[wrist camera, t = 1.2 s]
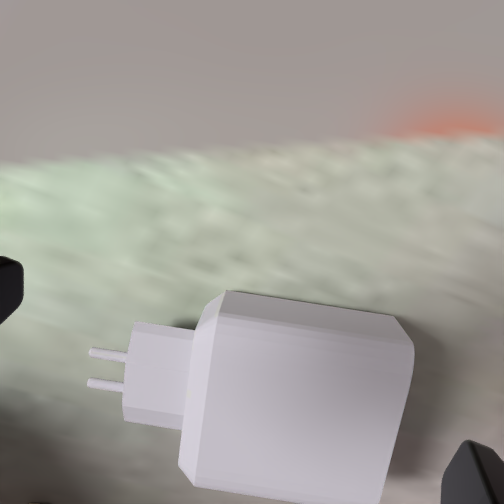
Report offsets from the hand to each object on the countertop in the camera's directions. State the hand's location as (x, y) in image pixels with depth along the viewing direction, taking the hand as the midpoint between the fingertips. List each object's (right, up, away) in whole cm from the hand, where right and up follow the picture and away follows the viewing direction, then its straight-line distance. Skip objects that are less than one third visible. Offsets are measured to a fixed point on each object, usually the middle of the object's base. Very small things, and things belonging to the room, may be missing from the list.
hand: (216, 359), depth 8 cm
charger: (0, -4, +16) cm, 16 cm away
